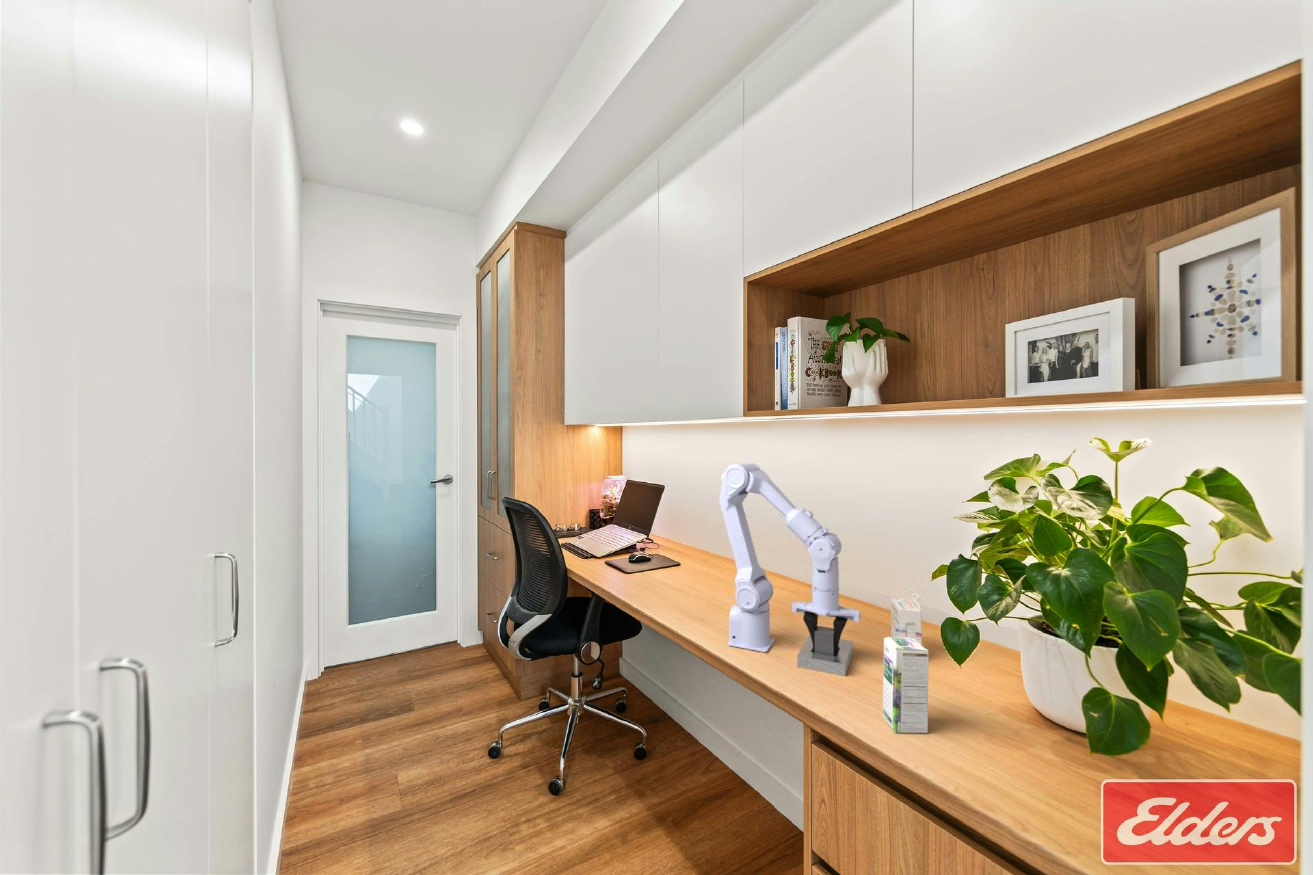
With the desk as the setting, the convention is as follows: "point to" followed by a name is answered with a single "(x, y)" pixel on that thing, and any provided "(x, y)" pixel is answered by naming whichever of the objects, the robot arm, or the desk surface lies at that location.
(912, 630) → the ink cartridge box
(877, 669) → the desk surface
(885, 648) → the syrup box
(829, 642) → the plug
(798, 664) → the socket plate
